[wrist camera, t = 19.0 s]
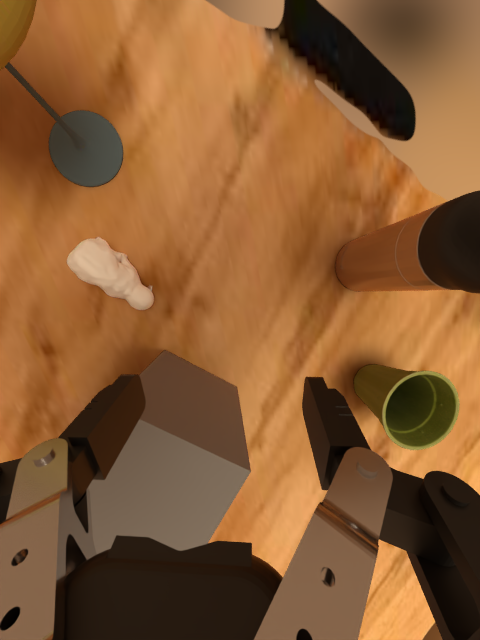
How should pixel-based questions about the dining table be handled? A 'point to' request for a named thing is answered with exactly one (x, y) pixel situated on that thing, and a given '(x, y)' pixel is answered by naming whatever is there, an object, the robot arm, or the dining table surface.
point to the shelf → (174, 461)
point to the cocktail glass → (71, 129)
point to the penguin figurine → (109, 272)
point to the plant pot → (409, 404)
